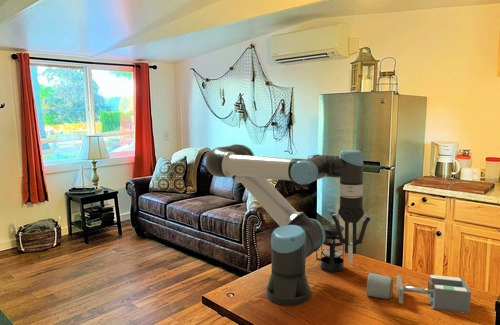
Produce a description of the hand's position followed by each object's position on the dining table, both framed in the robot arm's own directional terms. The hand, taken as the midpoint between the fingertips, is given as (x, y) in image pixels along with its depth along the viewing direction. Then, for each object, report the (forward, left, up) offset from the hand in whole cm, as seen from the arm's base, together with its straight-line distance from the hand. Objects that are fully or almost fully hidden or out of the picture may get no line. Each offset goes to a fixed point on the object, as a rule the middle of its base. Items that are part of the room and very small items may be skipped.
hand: (350, 262), depth 130 cm
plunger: (+22, 0, -10) cm, 24 cm away
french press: (-8, +19, -11) cm, 24 cm away
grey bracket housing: (+31, 0, -11) cm, 33 cm away
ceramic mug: (+10, +1, -11) cm, 15 cm away
